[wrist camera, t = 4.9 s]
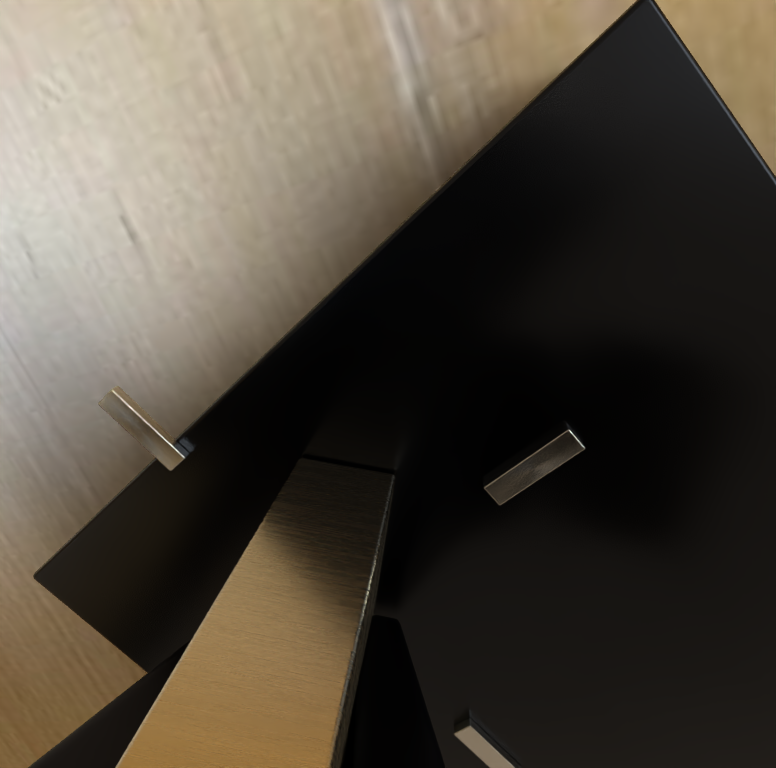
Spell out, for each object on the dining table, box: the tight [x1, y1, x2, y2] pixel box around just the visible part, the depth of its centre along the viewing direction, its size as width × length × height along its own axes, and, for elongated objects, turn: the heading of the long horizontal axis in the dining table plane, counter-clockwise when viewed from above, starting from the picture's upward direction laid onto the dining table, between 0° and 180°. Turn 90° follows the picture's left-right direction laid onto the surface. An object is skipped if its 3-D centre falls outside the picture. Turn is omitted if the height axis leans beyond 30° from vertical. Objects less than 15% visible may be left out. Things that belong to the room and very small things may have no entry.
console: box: [33, 0, 776, 768], centre depth 10 cm, size 13×15×3 cm
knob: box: [115, 458, 395, 768], centre depth 6 cm, size 5×1×5 cm, turn 172°
